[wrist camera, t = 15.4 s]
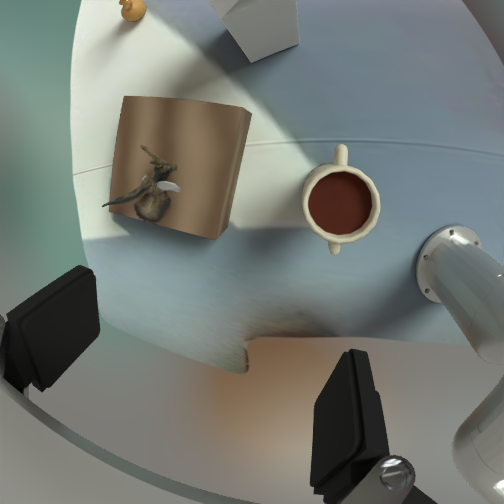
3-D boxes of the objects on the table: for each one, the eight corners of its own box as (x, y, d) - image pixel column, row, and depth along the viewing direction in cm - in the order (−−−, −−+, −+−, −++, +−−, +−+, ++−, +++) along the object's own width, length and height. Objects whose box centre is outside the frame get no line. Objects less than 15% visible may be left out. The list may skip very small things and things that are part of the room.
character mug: (303, 143, 34) (304, 140, 22) (358, 148, 33) (385, 148, 21) (300, 225, 38) (298, 261, 26) (352, 229, 37) (372, 266, 25)
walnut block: (252, 113, 34) (242, 107, 29) (227, 227, 40) (215, 240, 35) (146, 100, 35) (124, 95, 30) (131, 202, 41) (108, 211, 36)
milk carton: (251, 64, 32) (205, 0, 14) (229, 26, 30) (174, -44, 12) (300, 44, 29) (293, -34, 12) (276, 7, 28) (252, -76, 10)
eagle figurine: (140, 137, 30) (101, 196, 32) (142, 149, 25) (95, 221, 27) (188, 170, 35) (148, 223, 37) (200, 188, 30) (152, 251, 31)
